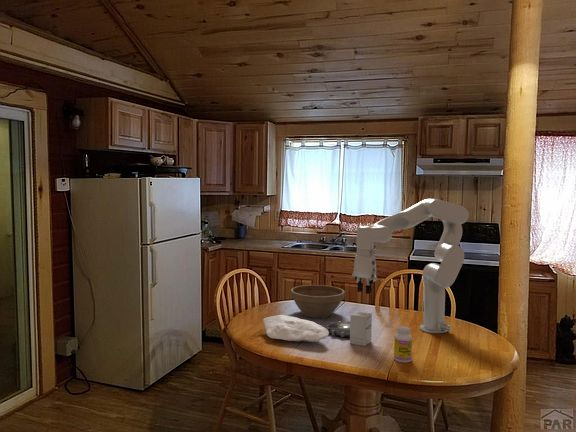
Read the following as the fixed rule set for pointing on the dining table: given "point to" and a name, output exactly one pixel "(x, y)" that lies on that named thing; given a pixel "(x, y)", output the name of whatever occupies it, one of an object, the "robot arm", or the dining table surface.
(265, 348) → the dining table surface
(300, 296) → the flower pot
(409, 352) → the supplement bottle
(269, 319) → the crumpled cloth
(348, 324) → the sprocket disc
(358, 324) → the supplement box
